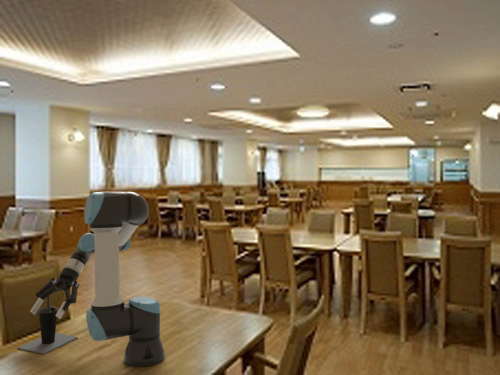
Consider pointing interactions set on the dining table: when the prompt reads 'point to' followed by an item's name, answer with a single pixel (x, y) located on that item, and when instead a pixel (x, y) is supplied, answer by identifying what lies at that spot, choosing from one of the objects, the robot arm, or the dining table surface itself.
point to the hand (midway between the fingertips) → (45, 315)
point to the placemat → (46, 348)
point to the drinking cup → (48, 322)
